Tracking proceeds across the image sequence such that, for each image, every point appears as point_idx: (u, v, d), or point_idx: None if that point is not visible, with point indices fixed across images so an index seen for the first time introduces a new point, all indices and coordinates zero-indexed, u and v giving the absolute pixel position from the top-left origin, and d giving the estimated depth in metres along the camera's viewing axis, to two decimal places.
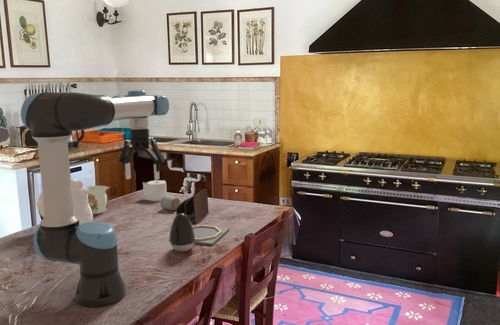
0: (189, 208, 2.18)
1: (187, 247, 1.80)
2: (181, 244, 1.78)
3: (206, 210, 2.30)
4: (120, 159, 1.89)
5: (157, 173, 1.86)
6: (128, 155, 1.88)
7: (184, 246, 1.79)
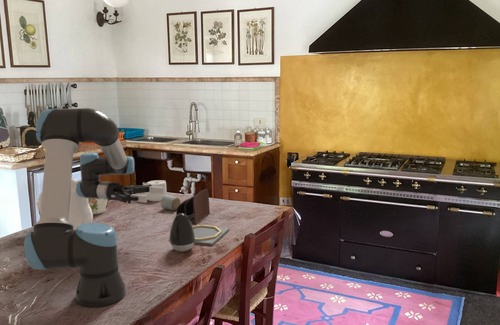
0: (189, 208, 2.18)
1: (187, 247, 1.80)
2: (181, 244, 1.78)
3: (207, 210, 2.30)
4: (124, 195, 1.77)
5: None
6: (126, 193, 1.81)
7: (184, 246, 1.79)
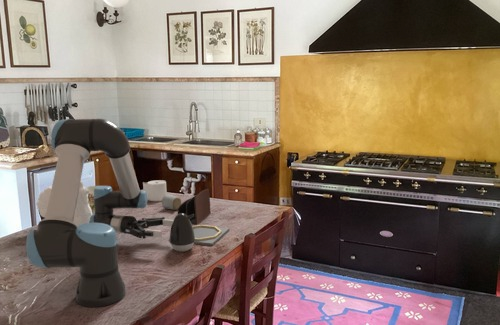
0: (190, 208, 2.18)
1: (187, 247, 1.80)
2: (181, 244, 1.78)
3: (208, 210, 2.30)
4: (139, 231, 1.79)
5: None
6: (140, 227, 1.83)
7: (184, 246, 1.79)
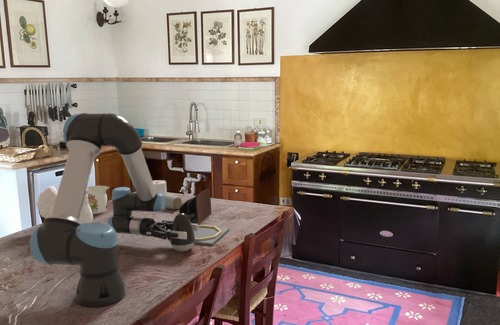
0: (191, 208, 2.18)
1: (187, 247, 1.80)
2: (181, 244, 1.78)
3: (209, 210, 2.30)
4: (163, 232, 1.76)
5: None
6: (163, 229, 1.80)
7: (184, 246, 1.79)
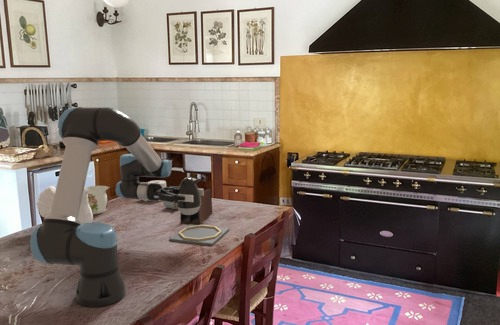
0: None
1: (194, 210, 1.85)
2: (188, 207, 1.83)
3: (210, 210, 2.30)
4: (171, 195, 1.81)
5: None
6: (170, 193, 1.85)
7: (191, 209, 1.84)
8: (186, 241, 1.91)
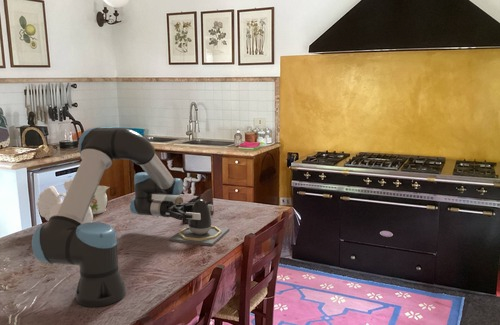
0: None
1: (204, 230, 1.95)
2: (199, 227, 1.94)
3: None
4: (179, 213, 1.91)
5: None
6: (180, 211, 1.95)
7: (202, 229, 1.95)
8: (186, 241, 1.91)
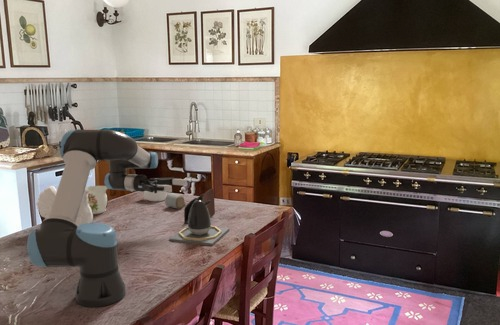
0: None
1: (204, 231, 1.95)
2: (199, 228, 1.94)
3: (213, 210, 2.30)
4: (151, 186, 1.93)
5: None
6: (152, 184, 1.97)
7: (201, 230, 1.95)
8: (186, 241, 1.91)
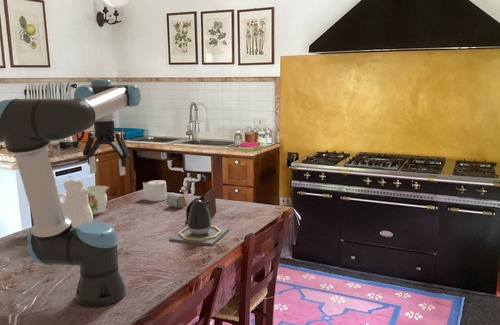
0: None
1: (204, 231, 1.95)
2: (199, 228, 1.94)
3: (214, 210, 2.30)
4: (84, 152, 1.78)
5: (123, 168, 1.75)
6: (92, 148, 1.77)
7: (201, 230, 1.95)
8: (186, 241, 1.91)
